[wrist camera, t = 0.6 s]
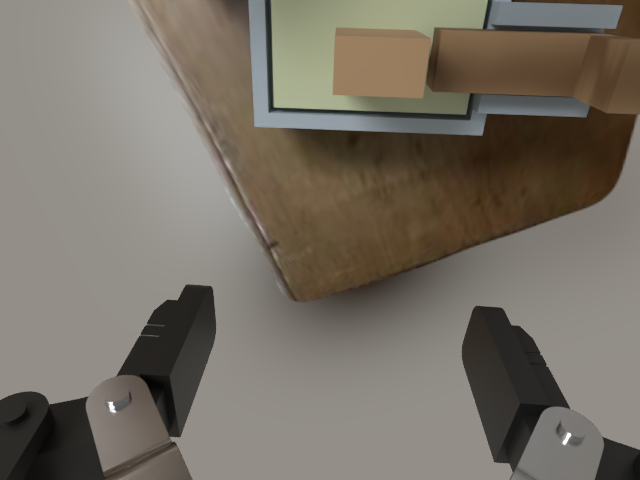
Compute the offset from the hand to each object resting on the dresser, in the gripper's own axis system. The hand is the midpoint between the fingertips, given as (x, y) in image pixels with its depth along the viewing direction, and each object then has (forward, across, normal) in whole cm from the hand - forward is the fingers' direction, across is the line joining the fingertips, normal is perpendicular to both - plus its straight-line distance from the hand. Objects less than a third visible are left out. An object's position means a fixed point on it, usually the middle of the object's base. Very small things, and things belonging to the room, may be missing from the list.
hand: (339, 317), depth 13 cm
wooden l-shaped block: (+20, -10, -5) cm, 23 cm away
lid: (+22, -2, -5) cm, 22 cm away
